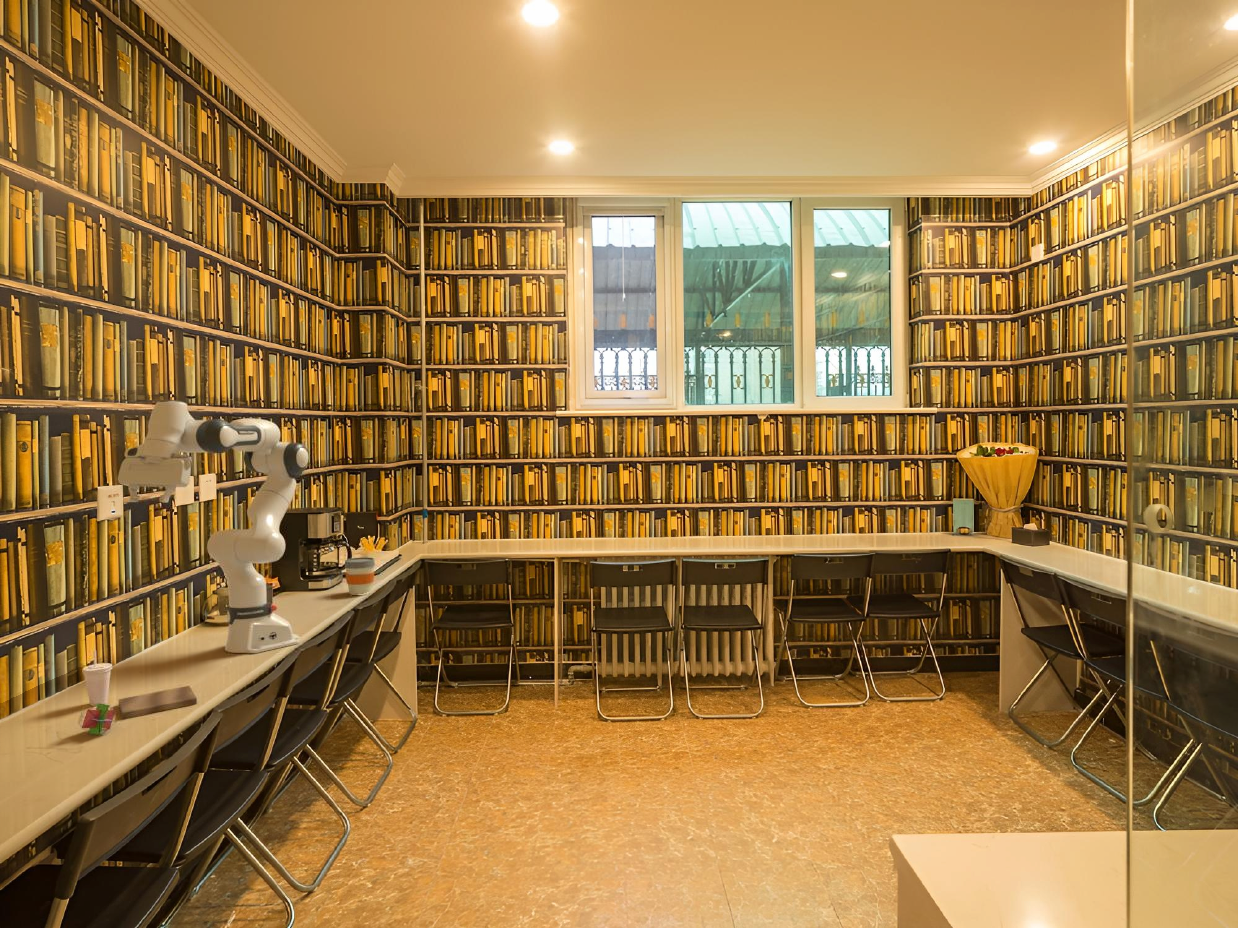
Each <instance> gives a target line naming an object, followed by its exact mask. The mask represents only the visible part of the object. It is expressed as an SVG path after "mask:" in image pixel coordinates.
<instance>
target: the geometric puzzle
mask: <svg viewBox="0 0 1238 928" xmlns="http://www.w3.org/2000/svg"><path fill="white" fill-rule="evenodd" d="M97 704H98V705H97V706H96V708H94V707H91V708H88V709H86V710H83V711H81V713H80V715H79V717H78V722H77V724H78V726H79V727H80V728H81V729H82V730H83V731H85V732H87V734H92V735H97V736H99V737H100V736H101V734H102V733H101V732H102V731H103V730H104V732H106V731H108V730H109V729H111V727H112V726H113V725H114V723H113V722H115V723H116V722H117V721H118V720H117V718H116V716H115V715H116V711H117V710H116V709H114V708H112V709H110V707H111V705H110V704H106V703H105V704H100V703H97ZM83 718H84V720H83ZM114 719H115V720H114ZM88 729H89V730H88Z"/></svg>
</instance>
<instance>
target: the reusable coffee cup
mask: <svg viewBox="0 0 1238 928" xmlns="http://www.w3.org/2000/svg"><path fill="white" fill-rule="evenodd" d="M375 566H376V563H375V558H373V557H367V556H366V557H364V556H363V557H361V556H360V557H352V558H347V559H345V561H344V568H345V579H346V585H348V592H349V595H350V594H352V595H358V594H364V593H367V592H370V591H371V592H372V587H373V583H374V578H375ZM352 595H351V596H352Z"/></svg>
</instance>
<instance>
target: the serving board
mask: <svg viewBox="0 0 1238 928" xmlns="http://www.w3.org/2000/svg"><path fill="white" fill-rule="evenodd" d="M197 701H198V700H197V697H196V695H195V692H194V691H193V690H192V688H191V687H190V685H185V686H180V687H175V688H172V689H165V690H161V691H155V692H150V693H145V694H140V695H134V696H129V697H125V698H124V697H123V698H119V699H118V708H119V707H120V708H119V712H120V714H121V718H122V720H126V719H129V718H128V717H130V718H135V717H138V716H137V715H140V716H144V715H143V714H145V715H149V714H154V712H155V713H158V712H164V711H168V710H169V711H170V710H174V709H178V708H182V707H188V706H192V704H193V705H197ZM163 710H164V711H163ZM134 716H135V717H134Z"/></svg>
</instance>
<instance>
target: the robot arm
mask: <svg viewBox="0 0 1238 928" xmlns="http://www.w3.org/2000/svg"><path fill="white" fill-rule="evenodd" d="M147 430H148V432H147V434H146V436H145V438H144V441H143V443H141V444H139V445H136V446H134V447H131V448H127V449H126V450H125V451H124V457H125V459H123V461H122V462H121V464H120V468H119V470H118V471H119V472H118V475H117V481H118V483H119V484H120V485H123V486H126V487H128V492H129V494H130V495H129V501H130V502H132V503H138V502H139V501H140V495H139V494H138V492H137V491H139V488H140V487H150V488H151V487H152V488H153V487H156V488H158V487H159V488H164V489H165V490H164V492H163V494H160V495H159V502H160V503H169V501H170V497H171V496H172V495H173V494H174V492H175V491H176V488H186V487H187V486H188V485H189V484H190V481H191V470H192V469H191V468H192V467H191V466H192V460H193V459H192V457H191V456H190V455H189V454H187V453H191V454H193V453H198V454H199V453H207V454H209V453H210V454H223V453H226V452H228V451H229V450H231V449H232V450H234V451H239V452H244V453H243V462H244V466H245V468H247V470H249V471H251V472H252V473H257V474H262V473H263V474H266V480H265V481H264V482H263V484H262V485H261V487H260V488H258V491H257V492H256V494H255V496H254V497H253V499H252V500H251V502H250V503H249V506H248V507H247V510H246V514H247V518H248V520H249V521H250V522H251V524H252V525H251V526H250V527H249V528H247V529H243V528H241V529H240V528H239V529H238V528H228V529H222V530H218V531H215V532H214V533H212V534H211V535H210V537H209V539H208V540H207V544H206V547H207V553H208V554H209V555H208V556H209V557H211V559H213V560H214V561H215V562H216V563H217V564H218V565H219V567H220V568H221V570H222V572H223V573H224V576H225V578H226V583H227V590H228V604H229V605H228V606H227V623H228V632H227V639H226V644H225V647H224V651H225V652H228V653H235V654H236V653H238V654H240V653H241V654H243V653H244V654H245V653H247V654H258V653H263V652H267V651H270V650H276V649H280V648H284V647H288V646H293V645H297V644H299V643H301V637H300V636H299V635H298V634H297V633H294V632H293V628H292V625H291V623H290V622H289V621H288V620H287V619H285V618H283V617H282V616H280V615H278V614H276V613H274V612H275V611H277V610H278V605H276V604H274V603H272V602H269V601H267V600H268V599H267V581H266V578H265V577H264V575H262V574H261V573H259V572H258V571H257V570H256V568H254V564H267V563H273V562H277V561H278V560H280V559H281V558H282V557H283V556H284V553H285V551H286V540H285V538H284V536H283V535H282V534H281V532H280V526H281V522H282V520H283V518H284V516H285V514H286V512H287V511H288V509H289V507H290V505H291V503H292V501H293V498H294V496H295V492H296V489H297V481H296V479H298V478H299V477H300V476H301V475H302V474H303V472H305V470H306V469H307V467H308V465H309V462H310V453H309V450H308V448H307V447H306V446H305V445H304V444H302V443H298V442H292V441H291V442H287V441H286V442H285V441H281V430H280V428H279V427H278V425H277V424H276V423H275V422H272V421H270V420H267V419H262V418H253V417H252V418H249V417H248V418H240V419H239V418H238V419H235V420H232V421H231V422H228V421H226V419H225V420H224V419H221V418H216V419H215V418H213V419H194V418H193V416H192V415H191V414H190V413H189V410H188V403H186V402H184V401H181V400H176V399H162V400H159V401H157V402H156V403H155V404H154V406H153V409H152V411H151V414H150V418H149V420H148V425H147ZM180 453H181V454H180ZM182 453H183V454H182Z"/></svg>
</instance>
